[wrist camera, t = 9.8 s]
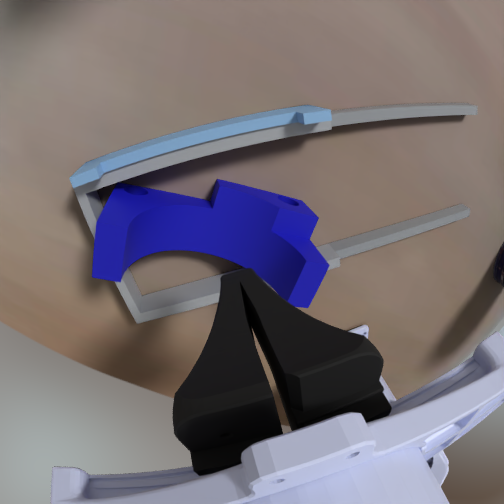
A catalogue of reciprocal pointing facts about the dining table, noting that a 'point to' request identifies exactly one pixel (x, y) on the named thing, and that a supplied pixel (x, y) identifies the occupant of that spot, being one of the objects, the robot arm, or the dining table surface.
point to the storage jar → (499, 266)
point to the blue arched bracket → (214, 234)
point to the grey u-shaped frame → (209, 287)
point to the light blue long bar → (197, 138)
